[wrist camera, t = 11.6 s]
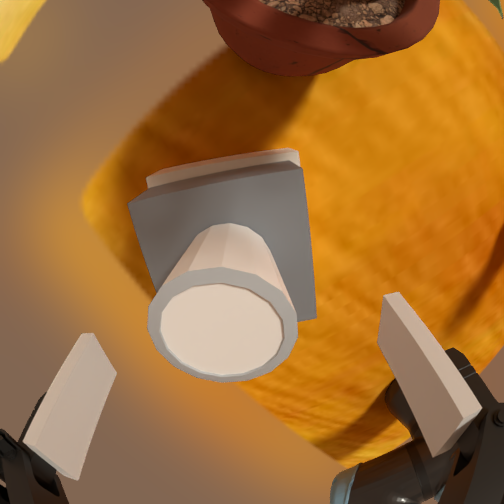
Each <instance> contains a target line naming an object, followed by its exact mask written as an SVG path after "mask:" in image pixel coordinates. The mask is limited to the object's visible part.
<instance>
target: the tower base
mask: <svg viewBox="0 0 504 504" xmlns="http://www.w3.org/2000/svg"><path fill="white" fill-rule="evenodd" d="M286 160H290V161H291V162H293V163H294V164H296V165H298V166H299V167H300V161H299V152H298V151H296V150H294V149H291V148H282V149H274V150H266V151H258V152H251V153H245V154H238V155H232V156H226V157H220V158H214V159H209V160H204V161H198V162H193V163H188V164H183V165H179V166H174V167H170V168H165V169H161V170H159V171H157V172H155V173H153V174H152V175H150V176H148V177H146V181H147V186H148V189H149V188H150V187H154V186H158V185H162V184H167V183H171V182H175V181H179V180H184V179H188V178H193V177H197V176H202V175H207V174H211V173H216V172H221V171H227V170H232V169H237V168H243V167H249V166H254V165H260V164H266V163H273V162H279V161H286Z"/></svg>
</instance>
